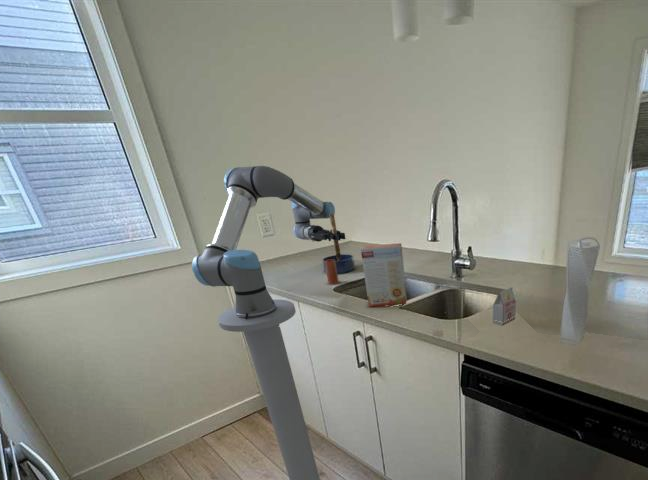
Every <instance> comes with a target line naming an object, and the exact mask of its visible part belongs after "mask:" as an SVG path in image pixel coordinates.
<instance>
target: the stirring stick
mask: <svg viewBox="0 0 648 480" xmlns="http://www.w3.org/2000/svg"><path fill="white" fill-rule="evenodd" d="M329 217H330V218H329V222H330V228H331V229H332V233H334V234H337V230H338V229H337V225H336V218H335V215H334V214H333V213H330V214H329ZM333 246H334V251H335V252H334V253H335V255H336V257H337V259H338V261H341V259H340V258H341V249H340V243H339V240H333Z"/></svg>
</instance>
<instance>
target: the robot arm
mask: <svg viewBox="0 0 648 480" xmlns="http://www.w3.org/2000/svg"><path fill="white" fill-rule="evenodd" d="M223 183H224V190H225V191H226V192H225V193H226V195H227V201H226V204H225V206H224V208H223V212H222V215H221V217H220V220H219V221H218V225H217V227H216V231H215V234H214V236H213V239H212V242H211V244H207V245H205V247H204V251H203V252H202V254H198V255H195V256H194V257H193V260H192V262H191V270H192V272H193V274H194V275H193V276H194V277H195V279H196V281H198V282H199V283H200V284H201V285H203V286H207V287H208V286H209V287H232V289H233V293H234V294H235V307H236V309H235V312H236V315H237V317H239V318H245V319H247V318H257V317H261V316H265V315H268V314H270V313H272V312H274V311H275V310H276V304H275V302H274V301H273V300H274V299H273V297H272V296H271V294H270V293H269V291H268V290H267V286H266V282H265V278H264V273H263V271H262V266H261V262H260V260H259V257H258V255H257V253H256V252H254V251H252V250H249V249H237V247H238V245H239V242H240V239H241V236H242V233H243V230H244V227H245V225H246V221H247V219H248V217H249V216H248V215H249V213H250V210H251V209H252V208H255V207H256V205H257V202H258V199H262V198H263V199H264V198H279V199H281V200H284V201H285V200H286V201H289V202H290V204H291V210H292V214H293V217H294V218H293V219H294V222H295V223H294V224H295V225H294V226H293V234H294V236H295V238H297V239H300V240H303V241H305V240H306V241H311V242H313V243H314V242H317V243H318V242H322V241H327V240H328V242H331V241H332V240H333V241H334V240H338V241H341V240H346V233H345V232H341V230H338V229H336V230H337V234H334V233H332V228H331V229H330V230H329V229H325V228H324V227H322V226H320V225H315V224H311V220H318V219H319V220H320V219H330V217H329V214H330V213H333V214H334V216H335V213H336V208H335V204H334V203H333V202H332V201H323V200H321V199H319V198H318V197H317V196H315V195H314V194H312V193H310V192H309V191H307V190H306V189H304V188H303V187H301V186H300V185H298V184H297V183H295V182H294V180H293V178H291V176H289V175H287V174H285V173H284V172H281V171H280V170H277V169H275V168H273V167H270V166H267V165H256V166H237V167H234V168H231V169H228V170H227V171H226V172H225V175H224V178H223Z"/></svg>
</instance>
